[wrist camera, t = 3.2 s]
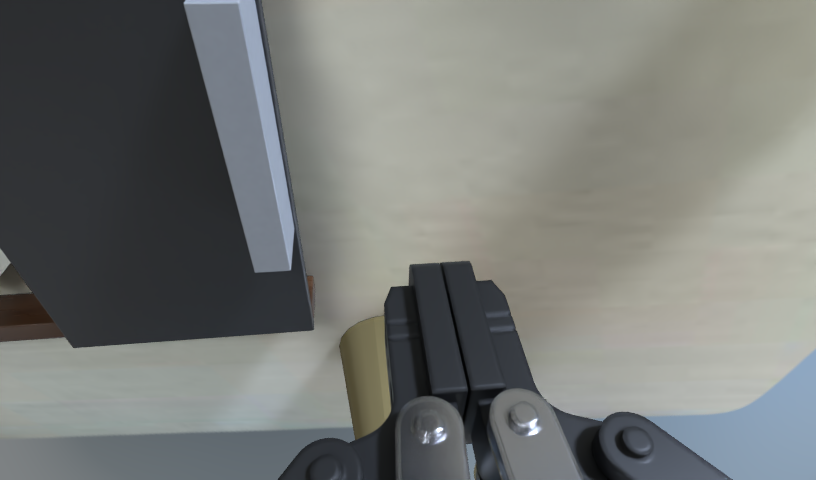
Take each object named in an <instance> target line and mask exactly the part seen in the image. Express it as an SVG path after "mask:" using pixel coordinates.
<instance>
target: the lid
mask: <svg viewBox="0 0 816 480" xmlns="http://www.w3.org/2000/svg"><path fill="white" fill-rule="evenodd" d="M0 249H1V250H2V251H3V253H4V254H5V256H6V257H7V258H8V260H9V261H10V262H11V264H12V265H13V266H14V268H15V269H16V271H17V272H18V273H19V275H20V276H21V277H22V279H23V280H24V281H25V283H26V284H27V286H28V287H29V288H30V290H31V291H32V292H33V294H34V295H35V296H36V298H37V299H38V300H39V302H40V303H41V305H42V306H43V307H44V309H45V310H46V311H47V313H48V314H49V315H50V317H51V318H52V320H53V321H54V322H55V324H56V325H57V326H58V328H59V329H60V330H61V332H62V333H63V335H64V336H65V337H66V339H67V340H68V341H69V343H70V344H71V345H72V347H73V348H80V347H93V346H107V345H121V344H134V343H148V342H162V341H175V340H189V339H203V338H216V337H230V336H244V335H257V334H271V333H285V332H298V331H312V330H314V318H313V312H312V306H311V300H310V293H309V287H308V281H307V275H306V269H305V263H304V257H303V251H302V245H301V239H300V233H299V227H298V220H297V214H296V208H295V202H294V196H293V190H292V184H291V178H290V172H289V166H288V160H287V153H286V147H285V141H284V135H283V129H282V123H281V117H280V111H279V105H278V99H277V93H276V86H275V80H274V74H273V68H272V62H271V56H270V50H269V44H268V38H267V32H266V26H265V19H264V13H263V7H262V1H261V0H0Z"/></svg>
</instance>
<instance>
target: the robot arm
mask: <svg viewBox="0 0 816 480" xmlns="http://www.w3.org/2000/svg"><path fill="white" fill-rule="evenodd" d="M384 322H385V349H386V359H387V371H388V382H389V392H390V403H391V412H390V414H389V416H388V418H387V419H386V421H385V422H384V423H383V424H382V425H381V426H380V427H379V428H378V429H376V430H375V431H374V432H372V433H370V434H368V435H366V436H363V437H361V438H359V439H357V440H355V441H352V442H350V443H347V442H345V441H343V440H340V439H335V438H325V439H320V440H317V441H314V442H312V443H311V444H309V445H307V446H306V447H305V448H304V449H302V450H301V451H300V452H299V454H298V455H297V456H296V457H295V459H294V460H293V461H292V462H291V463H290V465H289V466H288V467H287V469H286V470H285V471H284V472H283V474H282V475H281V476H280V477H279V479H278V480H470V473H469V466H468V457H467V449H466V444H472V445H473V450H474V454H475V459H476V463H475V468H474V478H475V480H732V479H731V478H729V477H728V476H727V475H725V474H724V473H722V472H721V471H720V470H718V469H717V468H715V467H714V466H713V465H711V464H710V463H708V462H707V461H706V460H704V459H703V458H702V457H700V456H699V455H697V454H696V453H694V452H693V451H692V450H690V449H689V448H688V447H686V446H685V445H683V444H682V443H681V442H679V441H678V440H676V439H675V438H674V437H672V436H671V435H669V434H668V433H667V432H665V431H664V430H662V429H661V428H660V427H658V426H657V425H655V424H654V423H653V422H651V421H650V420H648V419H646V418H645V417H643V416H640V415H638V414H635V413H630V412H617V413H614V414H611V415H609V416H608V417H607V418H606V419H605V420H604V421H603V422H602V421H597V420H593V419H589V418H584V417H580V416H575V415H571V414H568V413H565V412H563V411H560V410H559V409H557V408H555V407H554V406H552V405H551V404H550V403H548V402H547V401H546V400H545V399H544V398H543V397H542V395H541V394H540V393H539V391H538V390H537V388H536V386H535V383H534V381H533V378H532V375H531V372H530V369H529V366H528V363H527V360H526V357H525V354H524V351H523V348H522V345H521V342H520V339H519V336H518V333H517V331H516V329H515V328H516V327H515V324H514V321H513V318H512V316H511V312H510V309H509V306H508V303H507V300H506V297H505V295H504V294H503V293H502V292H501V290H500V289H499V288H498V287H497V286H496V285H495V284H494V283H493V281H492V280H488V281H476V279H475V275H474V272H473V268H472V265H471V263H470V261H459V262H442V263H440V264H439V263H428V264H412V265H410V267H409V286H398V287H391V289H390V291H389V293H388V296H387V298H386V301H385V303H384Z"/></svg>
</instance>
